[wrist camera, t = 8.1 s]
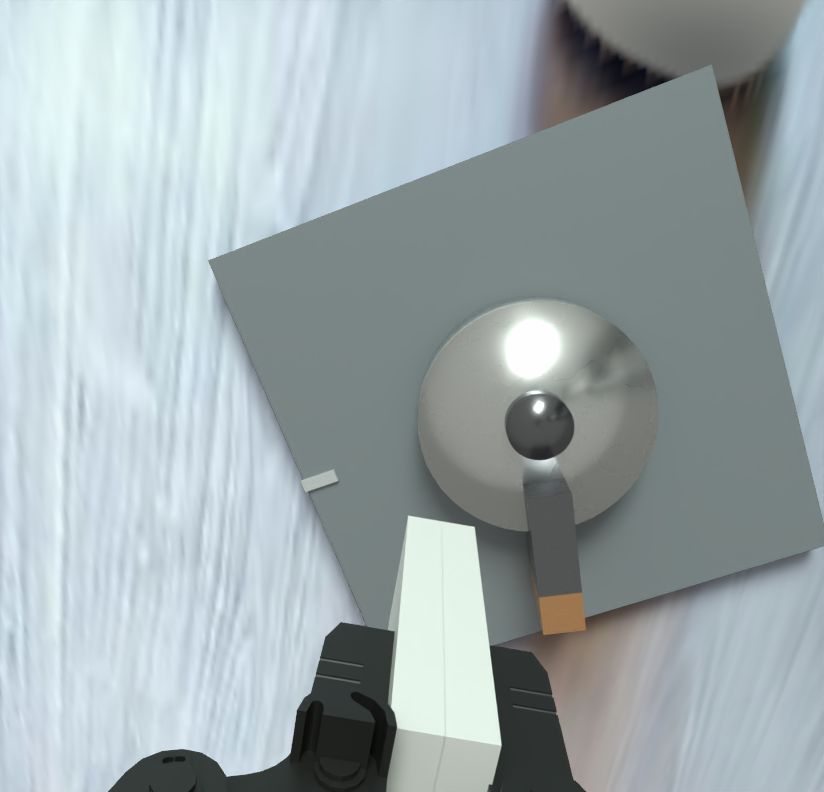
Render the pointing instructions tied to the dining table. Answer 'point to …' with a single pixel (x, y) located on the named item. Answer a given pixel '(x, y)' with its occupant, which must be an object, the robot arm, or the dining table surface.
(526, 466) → the dial
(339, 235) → the dial board
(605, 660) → the dining table surface
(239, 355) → the dining table surface
